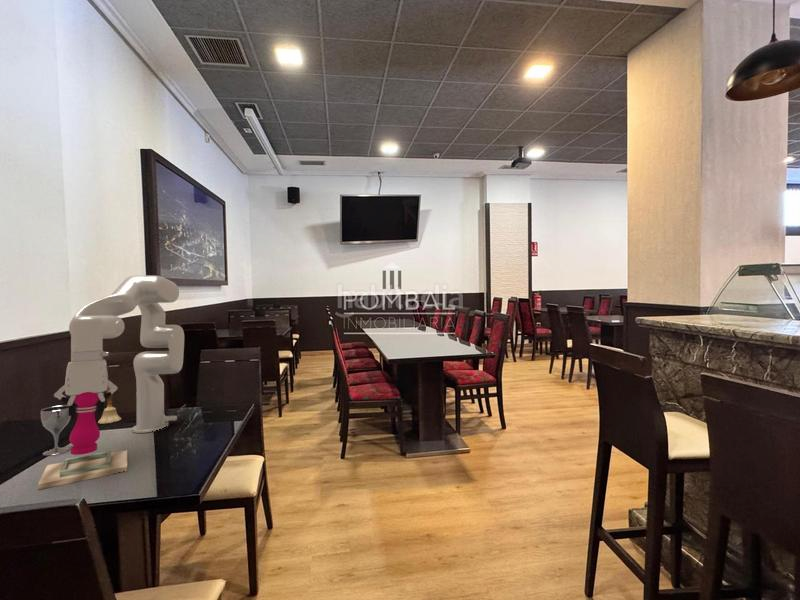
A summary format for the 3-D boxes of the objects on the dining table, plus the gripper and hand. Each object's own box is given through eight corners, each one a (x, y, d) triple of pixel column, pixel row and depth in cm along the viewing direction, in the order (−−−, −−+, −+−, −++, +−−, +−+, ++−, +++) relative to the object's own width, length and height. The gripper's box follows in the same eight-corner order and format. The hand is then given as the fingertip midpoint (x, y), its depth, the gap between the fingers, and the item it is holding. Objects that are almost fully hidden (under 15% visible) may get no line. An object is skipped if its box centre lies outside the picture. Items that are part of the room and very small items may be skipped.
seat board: (127, 454, 130) (127, 445, 130) (127, 471, 117) (127, 461, 117) (47, 470, 118) (47, 460, 119) (37, 490, 105) (37, 479, 106)
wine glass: (36, 457, 129) (36, 412, 129) (45, 449, 136) (45, 407, 136) (67, 453, 132) (67, 409, 132) (74, 445, 139) (74, 404, 140)
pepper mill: (81, 456, 113) (85, 387, 114) (61, 454, 114) (65, 386, 115) (105, 448, 120) (108, 383, 121) (86, 446, 121) (89, 382, 122)
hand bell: (96, 420, 170) (96, 384, 170) (119, 417, 176) (119, 381, 176) (98, 425, 164) (98, 387, 164) (122, 420, 170) (122, 384, 170)
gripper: (121, 353, 126) (121, 408, 126) (51, 358, 116) (51, 418, 116) (121, 355, 120) (121, 413, 120) (47, 360, 110) (47, 424, 110)
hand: (86, 415), depth 118 cm, fingers closed on pepper mill, 5 cm apart
